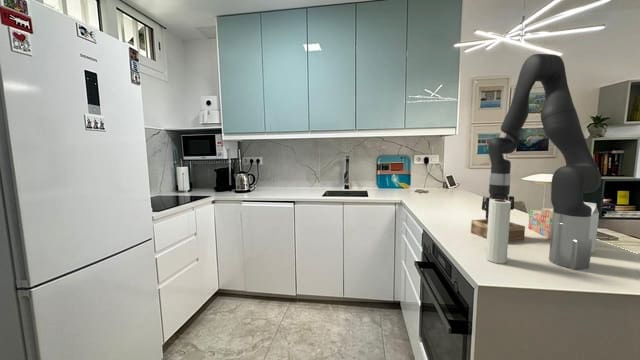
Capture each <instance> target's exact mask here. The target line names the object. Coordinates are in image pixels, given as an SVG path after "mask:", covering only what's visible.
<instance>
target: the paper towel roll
mask: <svg viewBox="0 0 640 360" xmlns="http://www.w3.org/2000/svg"><path fill="white" fill-rule="evenodd" d="M510 209H511V202H510V201H506V200H499V199H490V198H489V214H488V230H487V239H486V246H485V247H486V249H485V259H486V260H487V261H489V262H491V263H495V264H506V263H507V259H508V248H509V242H508V236H509V222H511V221H510V219H511V210H510Z"/></svg>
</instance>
